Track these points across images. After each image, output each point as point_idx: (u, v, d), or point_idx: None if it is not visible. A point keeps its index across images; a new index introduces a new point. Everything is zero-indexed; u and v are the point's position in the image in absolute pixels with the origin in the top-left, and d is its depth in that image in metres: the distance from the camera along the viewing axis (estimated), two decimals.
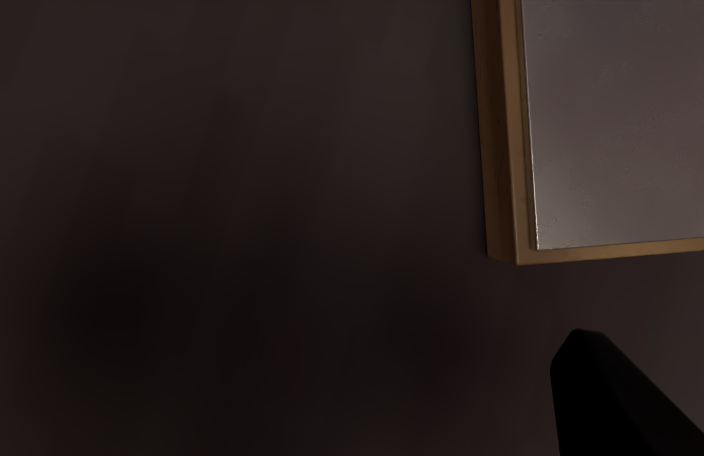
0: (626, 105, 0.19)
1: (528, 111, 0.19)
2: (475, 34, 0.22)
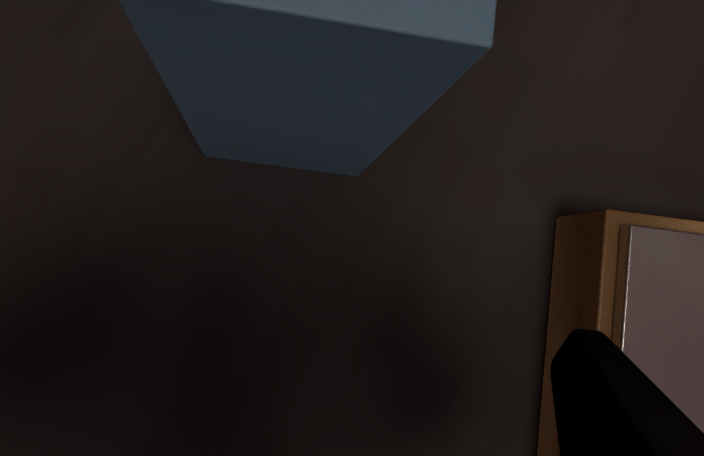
0: None
1: None
2: (543, 419, 0.22)
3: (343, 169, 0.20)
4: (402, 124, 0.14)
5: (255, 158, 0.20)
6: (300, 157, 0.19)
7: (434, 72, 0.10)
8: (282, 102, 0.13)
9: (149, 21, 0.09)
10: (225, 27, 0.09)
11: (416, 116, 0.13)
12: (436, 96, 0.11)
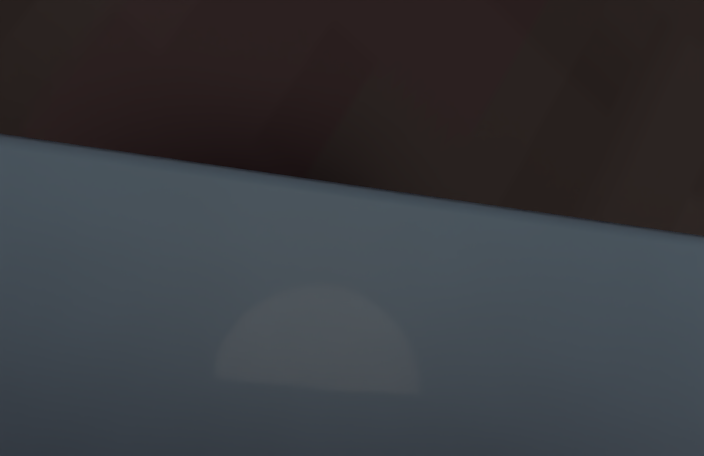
0: None
1: None
2: None
3: None
4: None
5: None
6: None
7: None
8: None
9: None
10: None
11: None
12: None
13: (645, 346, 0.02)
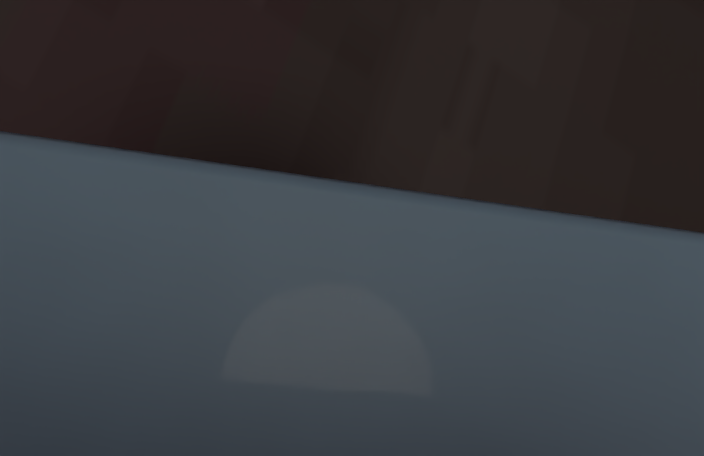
0: None
1: None
2: None
3: None
4: None
5: None
6: None
7: None
8: None
9: None
10: None
11: None
12: None
13: (644, 343, 0.02)
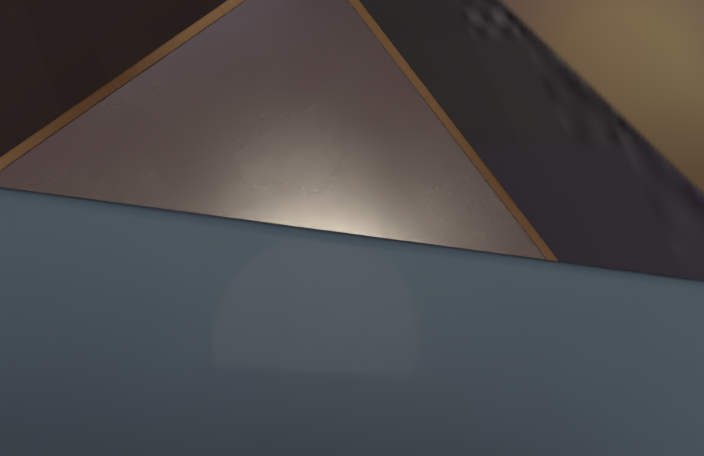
0: None
1: None
2: None
3: None
4: None
5: None
6: None
7: None
8: None
9: None
10: None
11: None
12: None
13: (639, 372, 0.03)
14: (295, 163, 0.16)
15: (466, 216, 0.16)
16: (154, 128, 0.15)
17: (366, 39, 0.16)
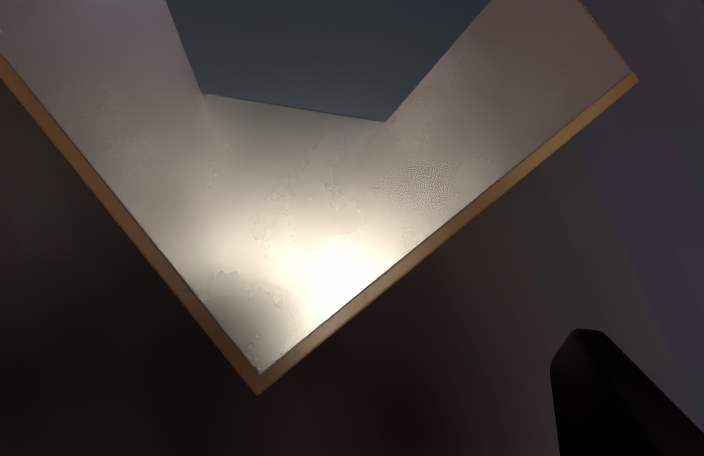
0: (252, 183, 0.17)
1: (160, 251, 0.17)
2: None
3: (371, 108, 0.16)
4: (472, 7, 0.10)
5: (263, 93, 0.16)
6: (320, 88, 0.15)
7: None
8: None
9: None
10: None
11: None
12: None
13: None
14: None
15: None
16: None
17: None
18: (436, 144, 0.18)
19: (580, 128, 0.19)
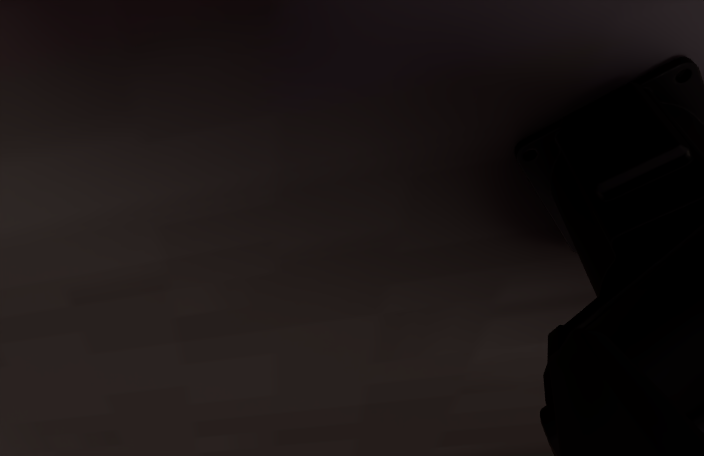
0: None
1: None
2: None
3: None
4: None
5: None
6: None
7: None
8: None
9: None
10: None
11: None
12: None
13: None
14: None
15: None
16: None
17: None
18: None
19: None
